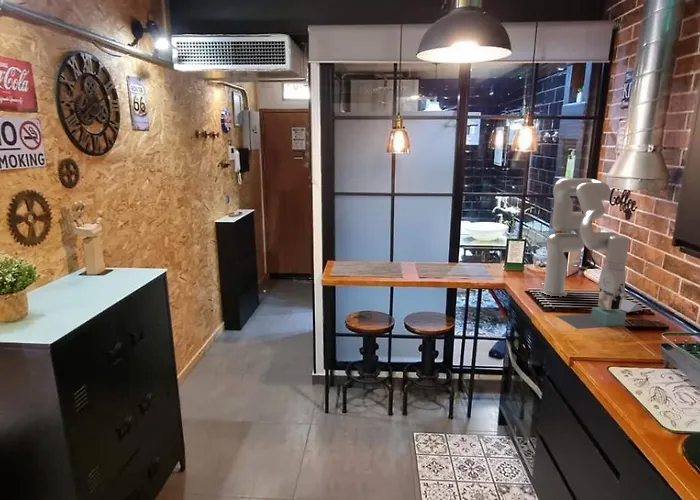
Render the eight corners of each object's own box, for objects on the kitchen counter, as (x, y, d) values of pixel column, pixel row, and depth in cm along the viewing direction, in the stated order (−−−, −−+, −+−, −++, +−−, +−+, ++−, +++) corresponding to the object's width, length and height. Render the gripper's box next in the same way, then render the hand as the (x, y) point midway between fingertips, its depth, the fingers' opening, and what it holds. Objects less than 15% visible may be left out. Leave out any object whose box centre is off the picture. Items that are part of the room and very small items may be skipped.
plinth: (590, 318, 199) (592, 307, 198) (609, 317, 201) (610, 306, 199) (605, 326, 190) (606, 314, 189) (624, 324, 192) (626, 313, 191)
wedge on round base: (641, 316, 205) (615, 307, 216) (643, 302, 203) (617, 293, 215) (627, 319, 201) (601, 309, 213) (629, 304, 200) (603, 296, 212)
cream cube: (597, 305, 197) (599, 292, 195) (610, 304, 198) (612, 291, 196) (607, 310, 191) (609, 296, 190) (620, 309, 192) (622, 295, 190)
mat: (555, 317, 202) (555, 315, 202) (604, 315, 206) (604, 313, 206) (577, 331, 188) (577, 328, 187) (629, 327, 191) (629, 325, 191)
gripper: (592, 260, 198) (587, 300, 202) (622, 271, 181) (615, 314, 185) (608, 260, 199) (603, 299, 203) (638, 270, 182) (632, 313, 186)
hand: (609, 306), depth 194 cm, fingers closed on cream cube, 5 cm apart
